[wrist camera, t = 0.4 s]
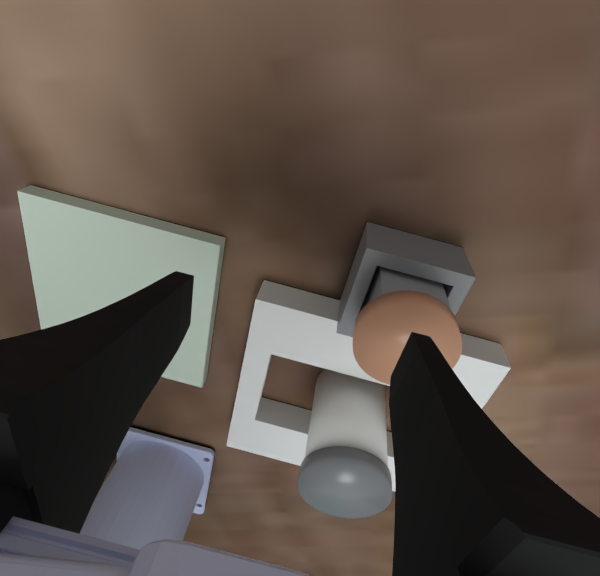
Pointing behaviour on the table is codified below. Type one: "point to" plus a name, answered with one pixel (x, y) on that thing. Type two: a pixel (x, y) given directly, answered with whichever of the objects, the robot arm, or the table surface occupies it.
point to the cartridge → (346, 448)
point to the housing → (345, 339)
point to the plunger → (402, 321)
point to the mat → (118, 266)
